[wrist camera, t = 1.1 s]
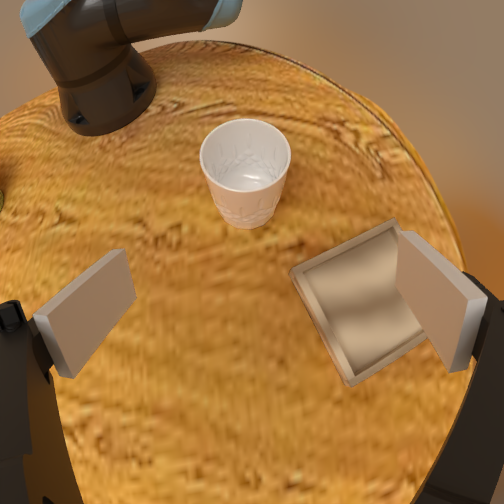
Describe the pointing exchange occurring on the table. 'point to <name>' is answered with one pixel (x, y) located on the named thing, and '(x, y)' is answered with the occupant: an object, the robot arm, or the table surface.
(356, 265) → the birch tray
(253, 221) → the white cup
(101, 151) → the table surface
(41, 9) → the robot arm
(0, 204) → the plant pot
